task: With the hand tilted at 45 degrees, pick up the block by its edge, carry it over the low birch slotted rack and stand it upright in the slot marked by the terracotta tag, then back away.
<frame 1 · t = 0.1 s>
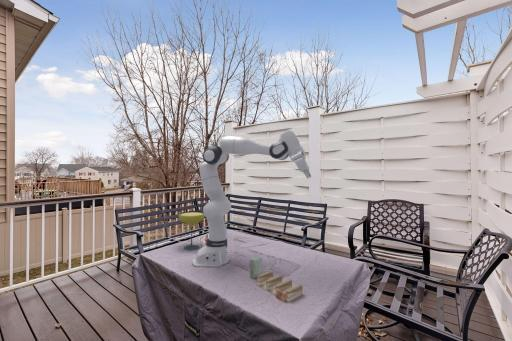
hand: (309, 177, 141), 54 cm above the table, tool tilted 30°, fingers open, 8 cm apart
rack: (278, 289, 123), on the table
block: (255, 276, 136), on the table
cocktail glass: (191, 247, 182), on the table
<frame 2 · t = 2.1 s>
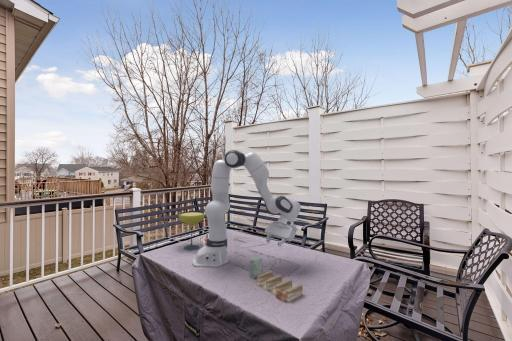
hand: (273, 243, 144), 16 cm above the table, tool tilted 45°, fingers open, 8 cm apart
nothing on the table moved.
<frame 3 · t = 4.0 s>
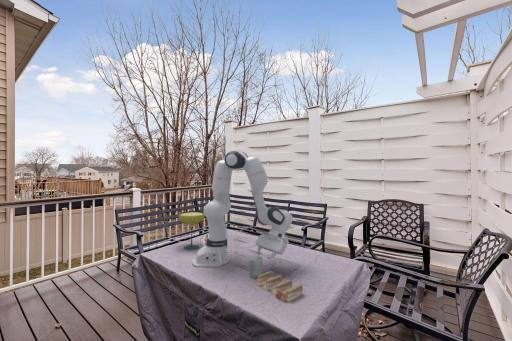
hand: (263, 256, 140), 10 cm above the table, tool tilted 45°, fingers open, 8 cm apart
nothing on the table moved.
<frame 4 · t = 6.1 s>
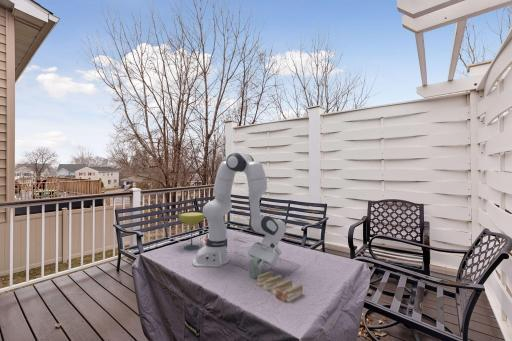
hand: (255, 267, 136), 5 cm above the table, tool tilted 45°, fingers closed on block, 3 cm apart
block: (255, 276, 136), on the table, touching gripper
everything else where it was.
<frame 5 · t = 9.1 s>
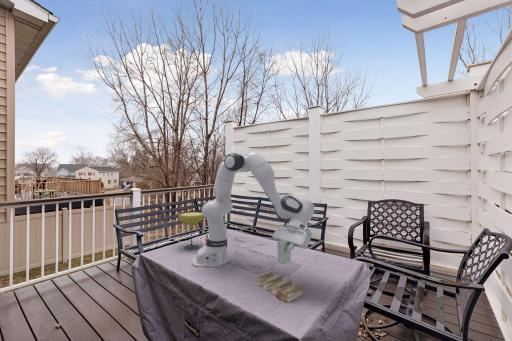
hand: (283, 251, 120), 20 cm above the table, tool tilted 45°, fingers closed on block, 3 cm apart
block: (284, 261, 121), point 14 cm above the table, touching gripper
everything else where it was.
when the fingers open (8 cm above the table, at t = 12.2 s): block drops 1 cm, resting on rack.
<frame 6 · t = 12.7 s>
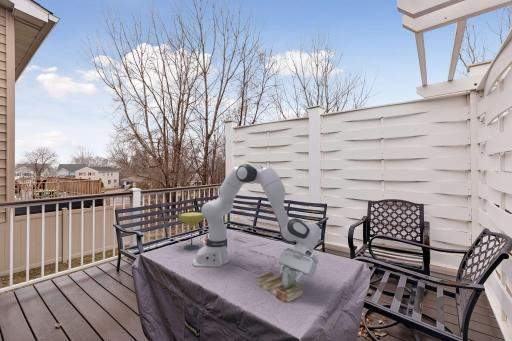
hand: (288, 278, 117), 8 cm above the table, tool tilted 45°, fingers open, 8 cm apart
block: (289, 291, 118), point 1 cm above the table, touching rack
everything else where it was.
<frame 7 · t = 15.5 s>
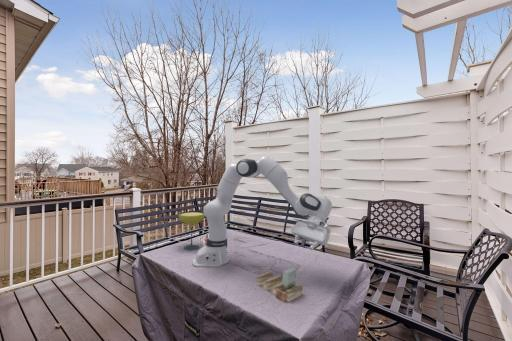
hand: (303, 246, 127), 20 cm above the table, tool tilted 45°, fingers open, 8 cm apart
nothing on the table moved.
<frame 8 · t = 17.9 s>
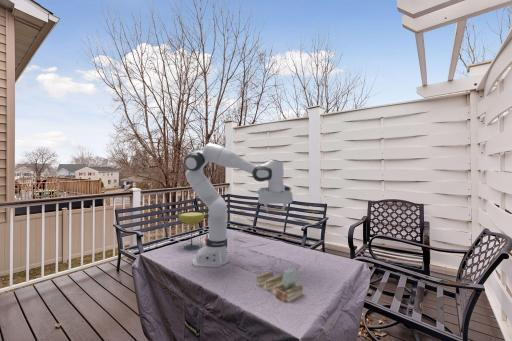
hand: (275, 211, 146), 34 cm above the table, tool pointing down, fingers open, 8 cm apart
nothing on the table moved.
at the end: block 0.1 cm from the target spot on the rack, point 1.5 cm above the rack's base; block tilted 0°; the gripper is holding nothing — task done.
